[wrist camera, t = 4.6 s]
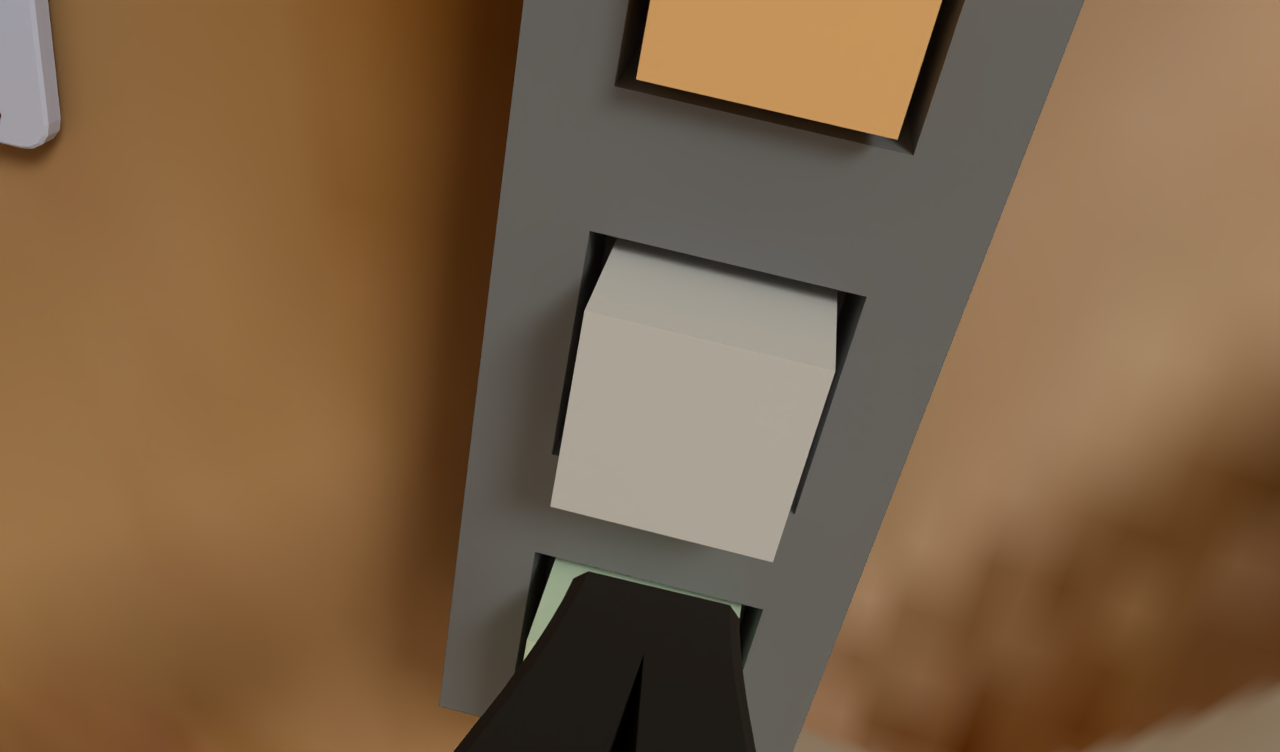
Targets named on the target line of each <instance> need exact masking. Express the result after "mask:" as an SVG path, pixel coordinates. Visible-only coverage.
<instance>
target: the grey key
mask: <svg viewBox="0 0 1280 752" xmlns="http://www.w3.org/2000/svg"><path fill="white" fill-rule="evenodd" d="M836 328H837V290H836V289H832V288H828V287H823V286H819V285H815V284H811V283H807V282H802V281H798V280H794V279H790V278H786V277H781V276H777V275H773V274H769V273H765V272H760V271H756V270H752V269H748V268H744V267H739V266H735V265H731V264H727V263H723V262H718V261H714V260H710V259H706V258H702V257H697V256H693V255H689V254H685V253H681V252H676V251H672V250H668V249H664V248H660V247H655V246H651V245H647V244H643V243H639V242H634V241H630V240H626V239H622V238H618V237H617V240H616V242H615V244H614V246H613V249H612V251H611V253H610V255H609V257H608V260H607V262H606V264H605V266H604V268H603V271H602V273H601V275H600V277H599V280H598V282H597V284H596V286H595V288H594V291H593V293H592V295H591V297H590V300H589V302H588V304H587V306H586V308H585V311H584V317H583V322H582V328H581V334H580V340H579V345H578V351H577V357H576V362H575V368H574V374H573V380H572V385H571V391H570V397H569V402H568V408H567V414H566V420H565V425H564V431H563V437H562V442H561V448H560V454H559V460H558V465H557V471H556V477H555V483H554V488H553V494H552V500H551V505H550V507H554V508H558V509H562V510H566V511H570V512H574V513H578V514H582V515H586V516H590V517H594V518H598V519H602V520H606V521H610V522H614V523H618V524H622V525H626V526H630V527H634V528H638V529H642V530H646V531H650V532H654V533H658V534H662V535H666V536H670V537H674V538H678V539H682V540H686V541H690V542H694V543H698V544H702V545H706V546H710V547H714V548H718V549H722V550H726V551H730V552H734V553H738V554H742V555H746V556H750V557H754V558H758V559H762V560H766V561H770V562H773V560H774V557H775V554H776V551H777V548H778V545H779V542H780V539H781V536H782V533H783V530H784V527H785V524H786V521H787V517H788V514H789V511H790V508H791V505H792V502H793V499H794V496H795V493H796V490H797V487H798V484H799V481H800V478H801V475H802V472H803V469H804V466H805V462H806V459H807V456H808V453H809V450H810V447H811V444H812V441H813V438H814V435H815V432H816V429H817V426H818V423H819V420H820V417H821V414H822V410H823V407H824V404H825V401H826V398H827V395H828V392H829V389H830V386H831V383H832V380H833V377H834V374H835V366H836Z"/></svg>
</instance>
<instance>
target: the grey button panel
mask: <svg viewBox="0 0 1280 752" xmlns="http://www.w3.org/2000/svg"><path fill="white" fill-rule="evenodd" d="M1083 3H1084V0H942V3H941V6H940V9H939V12H938V15H937V18H936V21H935V24H934V28H933V31H932V34H931V37H930V40H929V43H928V46H927V49H926V53H925V56H924V59H923V62H922V65H921V68H920V71H919V74H918V78H917V81H916V84H915V87H914V90H913V93H912V96H911V99H910V103H909V106H908V109H907V112H906V115H905V118H904V121H903V124H902V127H901V131H900V134H899V137H898V140H896V139H892V138H887V137H883V136H879V135H874V134H870V133H866V132H861V131H857V130H853V129H848V128H844V127H840V126H835V125H831V124H827V123H822V122H818V121H814V120H809V119H805V118H801V117H796V116H792V115H788V114H784V113H779V112H775V111H771V110H766V109H762V108H758V107H753V106H749V105H745V104H740V103H736V102H732V101H727V100H723V99H719V98H714V97H710V96H706V95H701V94H697V93H693V92H688V91H684V90H680V89H675V88H671V87H667V86H662V85H658V84H654V83H649V82H645V81H641V80H637V79H636V77H637V71H638V66H639V60H640V55H641V49H642V44H643V38H644V32H645V27H646V21H647V16H648V10H649V5H650V0H524V1H523V10H522V18H521V26H520V35H519V43H518V51H517V60H516V68H515V76H514V85H513V93H512V102H511V110H510V118H509V127H508V135H507V143H506V152H505V160H504V168H503V177H502V185H501V193H500V202H499V210H498V219H497V227H496V235H495V244H494V252H493V260H492V269H491V277H490V285H489V294H488V302H487V311H486V319H485V327H484V336H483V344H482V352H481V361H480V369H479V377H478V386H477V394H476V403H475V411H474V419H473V428H472V436H471V444H470V453H469V461H468V469H467V478H466V486H465V494H464V503H463V511H462V520H461V528H460V536H459V545H458V553H457V561H456V570H455V578H454V586H453V595H452V603H451V612H450V620H449V628H448V637H447V645H446V653H445V662H444V670H443V678H442V687H441V695H440V704H439V706H441V707H444V708H448V709H452V710H456V711H460V712H464V713H467V714H471V715H475V716H479V717H481V716H482V715H483V714H484V713H485V711H486V710H487V709H488V708H489V706H490V705H491V704H492V702H493V701H494V700H495V699H496V697H497V696H498V695H499V694H500V692H501V691H502V690H503V688H504V687H505V686H506V684H507V683H508V682H509V680H510V679H511V677H512V676H513V675H514V673H515V672H516V670H517V669H518V668H519V666H520V665H521V663H522V662H523V660H524V654H525V648H526V643H527V638H528V636H529V633H530V630H531V627H532V624H533V621H534V618H535V616H536V613H537V610H538V607H539V604H540V601H541V599H542V596H543V593H544V590H545V587H546V584H547V582H548V579H549V576H550V573H551V570H552V567H553V565H554V562H555V559H556V557H557V558H561V559H565V560H569V561H573V562H577V563H581V564H585V565H589V566H593V567H597V568H601V569H605V570H609V571H613V572H617V573H620V574H624V575H628V576H632V577H636V578H640V579H644V580H648V581H652V582H656V583H660V584H664V585H668V586H672V587H676V588H680V589H684V590H688V591H692V592H696V593H700V594H704V595H708V596H712V597H716V598H719V599H723V600H727V601H731V602H735V603H739V604H741V612H740V645H741V657H742V667H743V675H744V683H745V690H746V697H747V704H748V710H749V715H750V721H751V726H752V732H753V737H754V743H755V748H756V752H793V749H794V747H795V744H796V742H797V739H798V737H799V734H800V732H801V729H802V726H803V724H804V721H805V719H806V716H807V714H808V711H809V708H810V706H811V703H812V701H813V698H814V695H815V693H816V690H817V688H818V685H819V683H820V680H821V677H822V675H823V672H824V670H825V667H826V665H827V662H828V659H829V657H830V654H831V652H832V649H833V647H834V644H835V641H836V639H837V636H838V634H839V631H840V629H841V626H842V623H843V621H844V618H845V616H846V613H847V610H848V608H849V605H850V603H851V600H852V598H853V595H854V592H855V590H856V587H857V585H858V582H859V580H860V577H861V574H862V572H863V569H864V567H865V564H866V562H867V559H868V556H869V554H870V551H871V549H872V546H873V544H874V541H875V538H876V536H877V533H878V531H879V528H880V526H881V523H882V520H883V518H884V515H885V513H886V510H887V507H888V505H889V502H890V500H891V497H892V495H893V492H894V489H895V487H896V484H897V482H898V479H899V477H900V474H901V471H902V469H903V466H904V464H905V461H906V459H907V456H908V453H909V451H910V448H911V446H912V443H913V441H914V438H915V435H916V433H917V430H918V428H919V425H920V422H921V420H922V417H923V415H924V412H925V410H926V407H927V404H928V402H929V399H930V397H931V394H932V392H933V389H934V386H935V384H936V381H937V379H938V376H939V374H940V371H941V368H942V366H943V363H944V361H945V358H946V356H947V353H948V350H949V348H950V345H951V343H952V340H953V337H954V335H955V332H956V330H957V327H958V325H959V322H960V319H961V317H962V314H963V312H964V309H965V307H966V304H967V301H968V299H969V296H970V294H971V291H972V289H973V286H974V283H975V281H976V278H977V276H978V273H979V271H980V268H981V265H982V263H983V260H984V258H985V255H986V253H987V250H988V247H989V245H990V242H991V240H992V237H993V234H994V232H995V229H996V227H997V224H998V222H999V219H1000V216H1001V214H1002V211H1003V209H1004V206H1005V204H1006V201H1007V198H1008V196H1009V193H1010V191H1011V188H1012V186H1013V183H1014V180H1015V178H1016V175H1017V173H1018V170H1019V168H1020V165H1021V162H1022V160H1023V157H1024V155H1025V152H1026V149H1027V147H1028V144H1029V142H1030V139H1031V137H1032V134H1033V131H1034V129H1035V126H1036V124H1037V121H1038V119H1039V116H1040V113H1041V111H1042V108H1043V106H1044V103H1045V101H1046V98H1047V95H1048V93H1049V90H1050V88H1051V85H1052V83H1053V80H1054V77H1055V75H1056V72H1057V70H1058V67H1059V64H1060V62H1061V59H1062V57H1063V54H1064V52H1065V49H1066V46H1067V44H1068V41H1069V39H1070V36H1071V34H1072V31H1073V28H1074V26H1075V23H1076V21H1077V18H1078V16H1079V13H1080V10H1081V8H1082V5H1083ZM617 237H618V238H622V239H626V240H630V241H634V242H639V243H643V244H647V245H651V246H655V247H660V248H664V249H668V250H672V251H676V252H681V253H685V254H689V255H693V256H697V257H702V258H706V259H710V260H714V261H718V262H723V263H727V264H731V265H735V266H739V267H744V268H748V269H752V270H756V271H760V272H765V273H769V274H773V275H777V276H781V277H786V278H790V279H794V280H798V281H802V282H807V283H811V284H815V285H819V286H823V287H828V288H832V289H836V290H837V328H836V366H835V374H834V377H833V380H832V383H831V386H830V389H829V392H828V395H827V398H826V401H825V404H824V407H823V410H822V414H821V417H820V420H819V423H818V426H817V429H816V432H815V435H814V438H813V441H812V444H811V447H810V450H809V453H808V456H807V459H806V462H805V466H804V469H803V472H802V475H801V478H800V481H799V484H798V487H797V490H796V493H795V496H794V499H793V502H792V505H791V508H790V511H789V514H788V517H787V521H786V524H785V527H784V530H783V533H782V536H781V539H780V542H779V545H778V548H777V551H776V554H775V557H774V560H773V562H770V561H766V560H762V559H758V558H754V557H750V556H746V555H742V554H738V553H734V552H730V551H726V550H722V549H718V548H714V547H710V546H706V545H702V544H698V543H694V542H690V541H686V540H682V539H678V538H674V537H670V536H666V535H662V534H658V533H654V532H650V531H646V530H642V529H638V528H634V527H630V526H626V525H622V524H618V523H614V522H610V521H606V520H602V519H598V518H594V517H590V516H586V515H582V514H578V513H574V512H570V511H566V510H562V509H558V508H554V507H550V505H551V500H552V494H553V488H554V483H555V477H556V471H557V465H558V460H559V454H560V448H561V442H562V437H563V431H564V425H565V420H566V414H567V408H568V402H569V397H570V391H571V385H572V380H573V374H574V368H575V362H576V357H577V351H578V345H579V340H580V334H581V328H582V322H583V317H584V311H585V308H586V306H587V304H588V302H589V300H590V297H591V295H592V293H593V291H594V288H595V286H596V284H597V282H598V280H599V277H600V275H601V273H602V271H603V268H604V266H605V264H606V262H607V260H608V257H609V255H610V253H611V251H612V249H613V246H614V244H615V242H616V240H617Z"/></svg>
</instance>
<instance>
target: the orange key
mask: <svg viewBox="0 0 1280 752" xmlns="http://www.w3.org/2000/svg"><path fill="white" fill-rule="evenodd" d="M941 3H942V0H650V5H649V10H648V16H647V21H646V27H645V32H644V38H643V44H642V49H641V55H640V60H639V66H638V71H637V77H636V79H637V80H641V81H645V82H649V83H654V84H658V85H662V86H667V87H671V88H675V89H680V90H684V91H688V92H693V93H697V94H701V95H706V96H710V97H714V98H719V99H723V100H727V101H732V102H736V103H740V104H745V105H749V106H753V107H758V108H762V109H766V110H771V111H775V112H779V113H784V114H788V115H792V116H796V117H801V118H805V119H809V120H814V121H818V122H822V123H827V124H831V125H835V126H840V127H844V128H848V129H853V130H857V131H861V132H866V133H870V134H874V135H879V136H883V137H887V138H892V139H896V140H898V137H899V134H900V131H901V127H902V124H903V121H904V118H905V115H906V112H907V109H908V106H909V103H910V99H911V96H912V93H913V90H914V87H915V84H916V81H917V78H918V74H919V71H920V68H921V65H922V62H923V59H924V56H925V53H926V49H927V46H928V43H929V40H930V37H931V34H932V31H933V28H934V24H935V21H936V18H937V15H938V12H939V9H940V6H941Z"/></svg>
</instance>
